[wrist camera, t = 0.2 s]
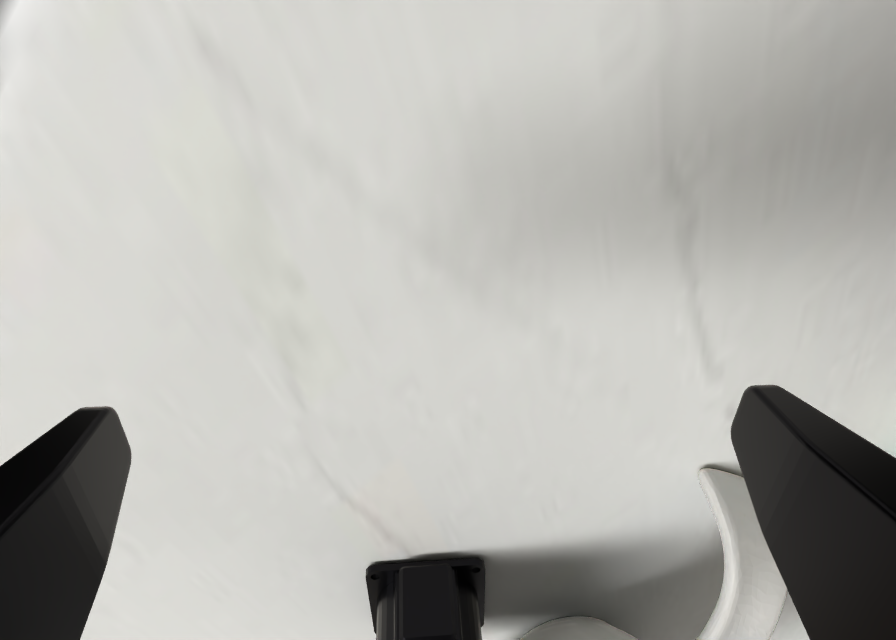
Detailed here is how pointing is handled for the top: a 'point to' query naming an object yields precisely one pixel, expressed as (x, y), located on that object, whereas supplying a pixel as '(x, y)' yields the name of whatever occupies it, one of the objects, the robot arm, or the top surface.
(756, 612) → the spoon rest
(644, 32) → the top surface
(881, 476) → the robot arm
